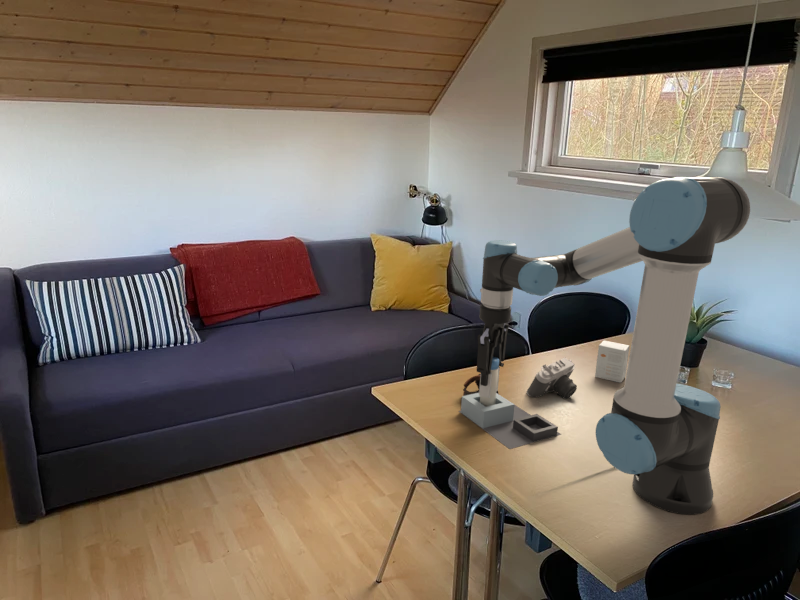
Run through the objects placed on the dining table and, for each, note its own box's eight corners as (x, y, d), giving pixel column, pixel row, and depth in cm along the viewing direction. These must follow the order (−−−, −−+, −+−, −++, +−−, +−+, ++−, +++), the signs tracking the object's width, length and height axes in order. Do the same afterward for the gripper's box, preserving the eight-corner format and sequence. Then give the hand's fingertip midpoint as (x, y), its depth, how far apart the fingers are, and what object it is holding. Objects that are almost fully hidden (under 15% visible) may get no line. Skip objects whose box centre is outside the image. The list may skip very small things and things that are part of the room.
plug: (497, 411, 150) (502, 360, 146) (485, 415, 149) (489, 363, 145) (488, 405, 154) (492, 355, 150) (475, 408, 152) (479, 357, 148)
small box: (625, 377, 181) (630, 345, 178) (621, 383, 177) (626, 350, 174) (599, 371, 185) (603, 339, 183) (594, 377, 181) (598, 344, 178)
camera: (521, 391, 166) (536, 365, 160) (555, 375, 176) (570, 350, 170) (545, 414, 161) (562, 388, 155) (578, 396, 171) (595, 371, 165)
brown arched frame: (504, 411, 158) (492, 388, 154) (471, 421, 160) (459, 400, 157) (499, 382, 168) (489, 361, 165) (468, 392, 171) (457, 372, 167)
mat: (561, 437, 144) (561, 434, 144) (509, 452, 136) (509, 449, 136) (506, 402, 162) (506, 399, 161) (458, 413, 154) (458, 411, 154)
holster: (556, 435, 143) (557, 426, 143) (533, 441, 140) (534, 433, 139) (536, 421, 150) (537, 413, 149) (512, 427, 146) (513, 419, 146)
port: (513, 420, 150) (514, 404, 149) (482, 428, 145) (484, 411, 144) (490, 405, 158) (491, 389, 157) (460, 412, 153) (461, 396, 152)
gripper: (496, 294, 152) (489, 378, 159) (466, 309, 138) (459, 400, 145) (523, 299, 148) (515, 385, 155) (495, 316, 134) (487, 409, 141)
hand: (488, 392), depth 150 cm, fingers closed on plug, 4 cm apart
